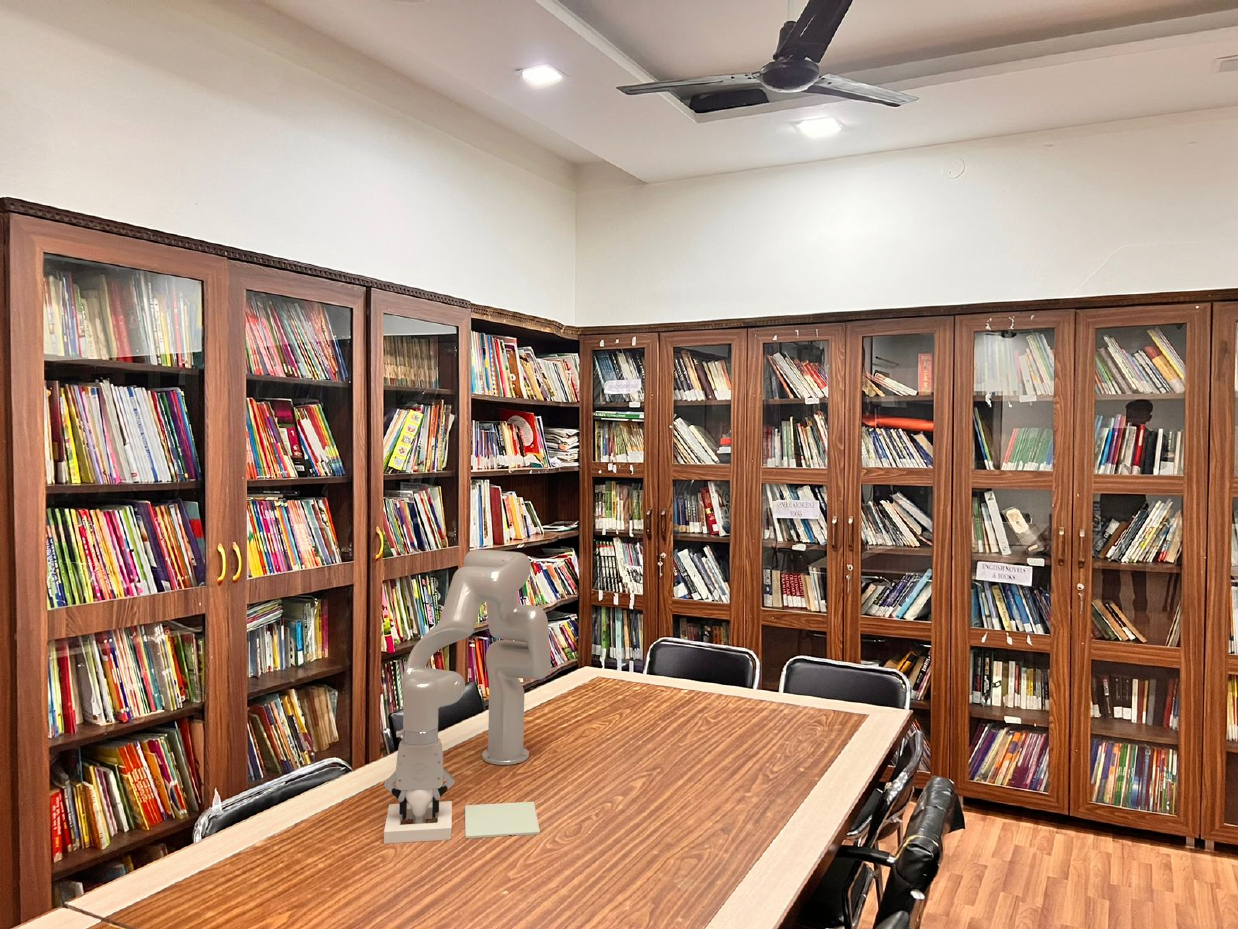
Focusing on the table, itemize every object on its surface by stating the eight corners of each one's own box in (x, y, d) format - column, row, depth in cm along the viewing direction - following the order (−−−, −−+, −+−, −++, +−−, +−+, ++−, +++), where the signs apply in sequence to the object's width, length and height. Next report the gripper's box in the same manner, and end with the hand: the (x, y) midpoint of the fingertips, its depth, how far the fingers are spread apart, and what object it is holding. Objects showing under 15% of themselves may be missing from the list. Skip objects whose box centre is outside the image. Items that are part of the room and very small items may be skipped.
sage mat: (465, 807, 201) (465, 805, 201) (533, 803, 204) (533, 801, 204) (465, 838, 186) (465, 836, 186) (539, 834, 188) (539, 831, 188)
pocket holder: (389, 815, 196) (389, 804, 196) (451, 812, 199) (452, 801, 199) (383, 843, 182) (383, 832, 182) (451, 839, 185) (451, 828, 185)
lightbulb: (436, 821, 194) (437, 772, 194) (431, 833, 188) (431, 783, 187) (407, 820, 194) (408, 772, 193) (401, 833, 187) (402, 783, 187)
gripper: (378, 743, 185) (377, 826, 185) (460, 739, 188) (458, 821, 188) (381, 731, 192) (380, 811, 193) (460, 728, 195) (459, 807, 196)
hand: (419, 815), depth 191 cm, fingers closed on lightbulb, 5 cm apart
